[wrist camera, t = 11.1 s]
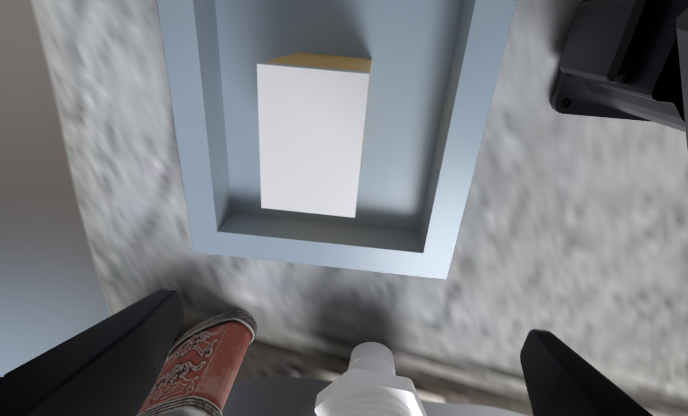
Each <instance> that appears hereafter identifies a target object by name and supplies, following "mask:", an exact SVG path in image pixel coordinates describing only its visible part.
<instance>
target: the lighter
mask: <svg viewBox="0 0 688 416" xmlns="http://www.w3.org/2000/svg"><path fill="white" fill-rule="evenodd" d="M257 328H258V325H257V323H256V321H255V320H254V318H253V317H252V316H250V315H249V314H248V313H246V312H243V311H239V310H232V311H229V312H226V313H223V314H220V315H217V316H214V317H212V318H210V319H208V320H206V321H203V322H201V323H199V324H198V325H196V326H195V327H193V328H192V329H190V330H189V331H188V332H186V333H185V334H184V335H183V336H182V337H181V338H180V339H179V340H178V341H177V342H176V343H175V344H174V345H173V347H172V348H171V350H170V352H169V354H168V360H167V361H166V363H165V364H164V366H163V368H162V370H161V372H160V374H159V376H158V378H157V380H156V382H155V384H154V386H153V388H152V390H151V391H150V393H149V395H148V397H147V398H146V400H145V402H144V404H143V406H142V407H141V409H140V411H139V413H138V414H137V416H222V409H223V406H224V404H225V402H226V399H227V397H228V394H229V392H230V389H231V387H232V385H233V382H234V380H235V377H236V375H237V372H238V370H239V367H240V365H241V362H242V360H243V357H244V355H245V352H246V350H247V347H248V345H249V344H250V343H251V342H252V341H253V340H254V337H255V335H256V332H257Z"/></svg>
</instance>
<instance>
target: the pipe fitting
mask: <svg viewBox="0 0 688 416" xmlns="http://www.w3.org/2000/svg"><path fill="white" fill-rule="evenodd" d="M315 413H316V414H317V416H426V412H425V410H424V408H423V406H422V403H421V401H420V399H419V396H418V394H417V392H416V389H415V387H414V385H413V382H412V381H411V380H410V379H409V378H406V377H401V376H395V366H394V361H393V355H392V352H391V351H390V350H389V348H387V347H386V346H385V345H383V344H381V343H377V342H365V343H361V344H359V345H357V346H356V347H355V348H354V349H353V351H352V353H351V358H350V363H349V368H348V371H347V372H345V373H344V374H343V375H342V376H340V377H339V378H338V379H336V380H335V381H334V382H333V383H331V384H330V385H329V386H328V387H326V388H325V389H324V390H322V391H321V392H320V393H319V394H318V395H317V398H316V405H315Z"/></svg>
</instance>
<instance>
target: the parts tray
mask: <svg viewBox="0 0 688 416" xmlns="http://www.w3.org/2000/svg"><path fill="white" fill-rule="evenodd" d="M516 1H517V0H157V4H158V11H159V18H160V25H161V32H162V39H163V46H164V53H165V60H166V67H167V74H168V81H169V88H170V95H171V102H172V109H173V116H174V123H175V130H176V137H177V144H178V151H179V158H180V165H181V172H182V179H183V186H184V193H185V200H186V207H187V213H188V220H189V227H190V234H191V241H192V248H193V252H197V253H207V254H216V255H225V256H235V257H244V258H253V259H263V260H272V261H281V262H290V263H300V264H309V265H318V266H328V267H337V268H346V269H355V270H365V271H374V272H383V273H393V274H402V275H411V276H421V277H430V278H439V279H447V275H448V271H449V267H450V263H451V259H452V255H453V251H454V247H455V243H456V239H457V235H458V232H459V228H460V224H461V220H462V216H463V212H464V208H465V204H466V200H467V196H468V192H469V188H470V184H471V180H472V176H473V172H474V168H475V164H476V160H477V156H478V152H479V148H480V144H481V140H482V136H483V132H484V128H485V124H486V120H487V116H488V112H489V109H490V105H491V101H492V97H493V93H494V89H495V85H496V81H497V77H498V73H499V69H500V65H501V61H502V57H503V53H504V49H505V45H506V41H507V37H508V33H509V29H510V25H511V21H512V17H513V13H514V9H515V5H516ZM297 52H302V53H313V54H324V55H335V56H346V57H358V58H369V59H372V63H371V73H370V82H369V92H368V101H367V111H366V121H365V130H364V140H363V150H362V159H361V168H360V177H359V186H358V195H357V203H356V212H355V218H352V217H343V216H334V215H324V214H315V213H305V212H296V211H287V210H277V209H268V208H261V182H260V150H259V119H258V87H257V64H258V63H262V62H265V61H269V60H272V59H276V58H279V57H283V56H286V55H290V54H293V53H297Z"/></svg>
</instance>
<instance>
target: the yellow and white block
mask: <svg viewBox="0 0 688 416" xmlns="http://www.w3.org/2000/svg"><path fill="white" fill-rule="evenodd" d="M371 63H372V59H369V58H358V57H346V56H335V55H324V54H313V53H302V52H297V53H293V54H290V55H286V56H283V57H279V58H276V59H272V60H269V61H265V62H262V63H258V64H257V87H258V119H259V150H260V182H261V208H268V209H277V210H287V211H296V212H305V213H315V214H324V215H334V216H343V217H352V218H355V212H356V203H357V195H358V186H359V177H360V168H361V159H362V150H363V140H364V130H365V121H366V111H367V101H368V92H369V82H370V73H371Z"/></svg>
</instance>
